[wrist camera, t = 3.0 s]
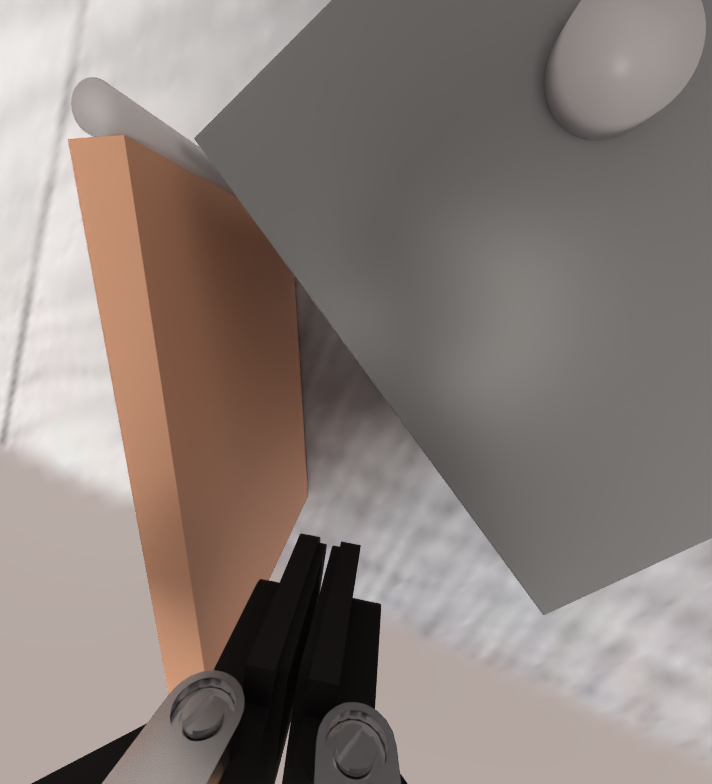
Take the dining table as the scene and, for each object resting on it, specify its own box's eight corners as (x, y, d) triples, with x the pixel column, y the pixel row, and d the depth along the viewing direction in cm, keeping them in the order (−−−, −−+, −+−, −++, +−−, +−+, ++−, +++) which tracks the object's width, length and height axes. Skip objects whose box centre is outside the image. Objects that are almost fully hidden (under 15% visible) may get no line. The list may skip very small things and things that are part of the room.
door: (290, 205, 19) (114, 74, 7) (307, 496, 23) (209, 706, 11) (249, 207, 19) (20, 84, 8) (274, 495, 23) (144, 700, 12)
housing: (505, 52, 17) (709, -431, 6) (675, 337, 19) (1079, 407, 8) (307, 220, 20) (174, 124, 8) (474, 455, 22) (553, 639, 10)
